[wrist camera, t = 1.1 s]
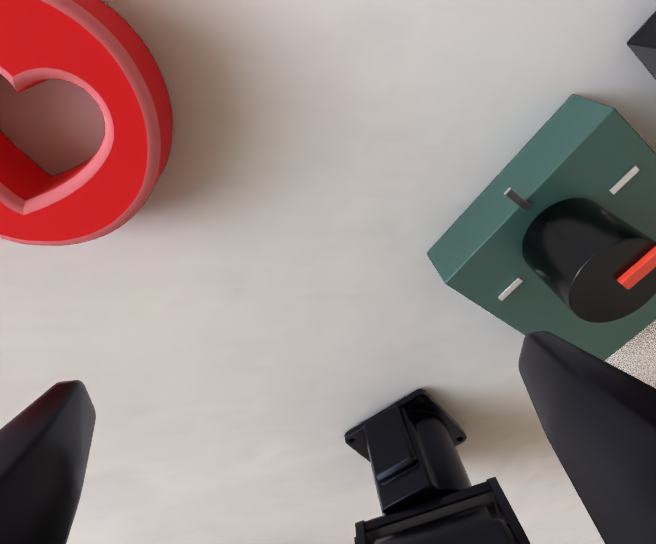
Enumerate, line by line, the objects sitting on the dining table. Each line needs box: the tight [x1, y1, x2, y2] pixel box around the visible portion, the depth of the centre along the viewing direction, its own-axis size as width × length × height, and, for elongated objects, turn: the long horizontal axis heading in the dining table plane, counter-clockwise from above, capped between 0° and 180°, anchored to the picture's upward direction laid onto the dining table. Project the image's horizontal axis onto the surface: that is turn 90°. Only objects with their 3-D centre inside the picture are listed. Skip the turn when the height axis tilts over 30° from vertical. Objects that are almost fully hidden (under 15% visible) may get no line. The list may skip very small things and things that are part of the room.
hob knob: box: [522, 198, 656, 323], centre depth 20 cm, size 4×4×4 cm
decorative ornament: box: [0, 0, 173, 246], centre depth 17 cm, size 10×10×3 cm
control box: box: [427, 94, 656, 361], centre depth 24 cm, size 10×13×3 cm
